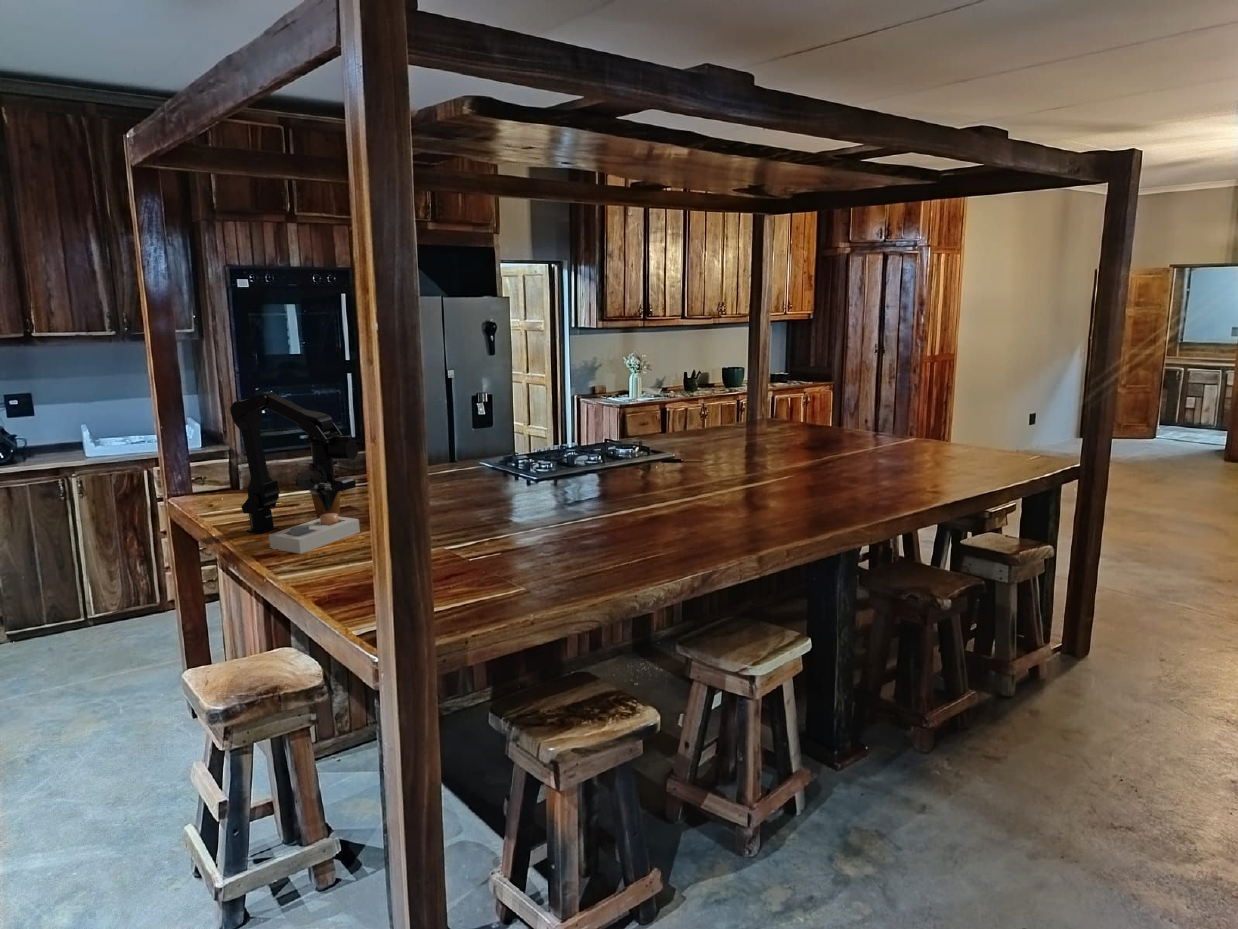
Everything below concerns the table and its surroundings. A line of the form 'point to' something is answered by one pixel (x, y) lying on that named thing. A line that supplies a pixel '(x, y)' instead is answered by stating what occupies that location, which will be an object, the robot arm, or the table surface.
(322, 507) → the disposable coffee cup
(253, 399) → the robot arm
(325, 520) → the terracotta button
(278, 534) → the button panel
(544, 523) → the table surface
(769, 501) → the table surface
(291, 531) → the slate-grey button
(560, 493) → the table surface
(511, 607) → the table surface
